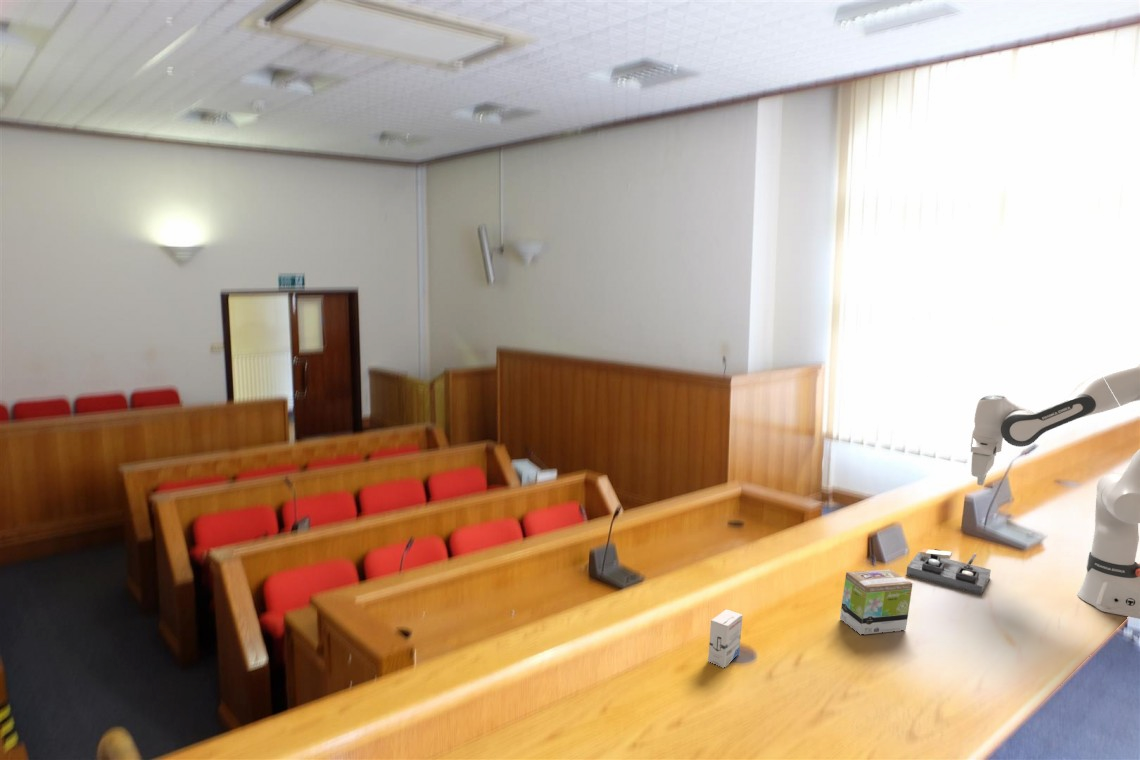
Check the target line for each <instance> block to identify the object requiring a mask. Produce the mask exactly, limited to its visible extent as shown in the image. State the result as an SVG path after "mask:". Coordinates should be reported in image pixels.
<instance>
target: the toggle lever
mask: <svg viewBox="0 0 1140 760" xmlns="http://www.w3.org/2000/svg"><path fill="white" fill-rule="evenodd" d="M977 556H978V555H977V553H973V554H972V556H971V558H970V559H969V561H968V562H967V563H966V564H967V566H968V567H970V566H971V565H972V564H973V562H974V561H975V559H976V558H977Z"/></svg>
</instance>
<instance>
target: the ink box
mask: <svg viewBox="0 0 1140 760" xmlns="http://www.w3.org/2000/svg"><path fill="white" fill-rule="evenodd" d="M743 618H744V617H743V614H741V613H739V612H736V611H733V610H732V609H731V610H730V609H728V608H726V609H725V610H723V611H722V612H721V613H719V614H718V615H716V616H715V617H713V618H712V619H710V630H709V643H708V656H707V657H708V658H707V662H708V663H710V662H711V663H710V664H712V663H713V665H714V664H716V665H715V666H717V665H718V666H717V667H719V666H721V667H723V668H722V669H725V668H727V666H729V665H730V664H729V663H730V662H731V661H732V660H733V659H734V658H735V657H736V656H737V655H738V656H740V646H741V637H742V636H741V635H742V628H743V627H742V626H743ZM738 656H737V657H738ZM737 657H736V658H737ZM736 658H735V659H736ZM735 659H734V660H735ZM734 660H733V661H734ZM733 661H732V662H733ZM721 667H720V668H721ZM724 667H725V668H724Z"/></svg>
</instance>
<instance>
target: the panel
mask: <svg viewBox="0 0 1140 760" xmlns="http://www.w3.org/2000/svg"><path fill="white" fill-rule="evenodd" d="M933 550H938V551H942V549H938V548H937V549H936V548H935V549H933ZM920 552H921V551H918V552H917V553H916V555H915V556H914V557H913V559H912V560H911V561H910V562H909V564H908V565H907V566H906V576H908V577H913V578H916V579H919V580H923V581H926V582H930V583H934V584H937V585H940V586H945V587H948V588H952V589H956V590H959V591H963V592H966V593H971V594H974V595H977V596H982V594H983V593H984V590H985V589H986V586H987V584H988V582H989V580H990V578H991V572H992V571H991V569H989V568H986V567H982V566H981V567H980V566H977V565H973V564H971V566H970V567H968V566H967V563H966V562H965V563H964V562H963V561H962V562H961V561H958V560H953V559H951V558H950V559H946V558H939V560H938V561H939V566H932V565H929V564H928V561H929V559H936V560H937V559H938V555H935V554H931V557H925V556H920ZM962 571H970V572H972V573H973V576H970V575H966V574H962Z"/></svg>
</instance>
